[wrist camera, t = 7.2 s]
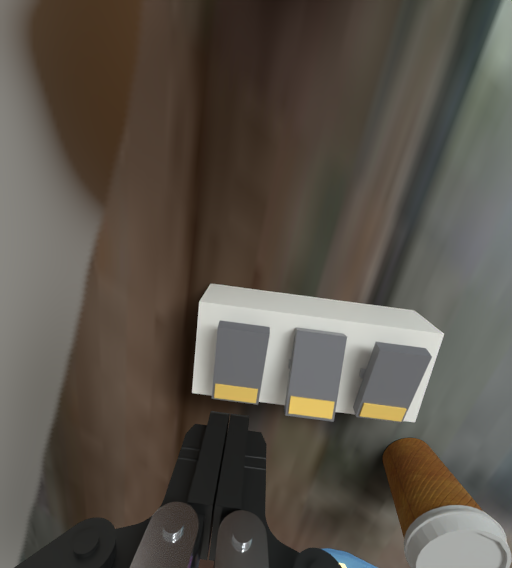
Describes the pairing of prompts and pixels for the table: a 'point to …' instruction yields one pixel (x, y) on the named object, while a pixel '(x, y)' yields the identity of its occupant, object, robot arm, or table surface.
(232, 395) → the rocker
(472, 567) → the disposable coffee cup
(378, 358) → the rocker
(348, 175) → the table surface
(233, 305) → the console
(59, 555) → the robot arm
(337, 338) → the block
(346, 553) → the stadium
